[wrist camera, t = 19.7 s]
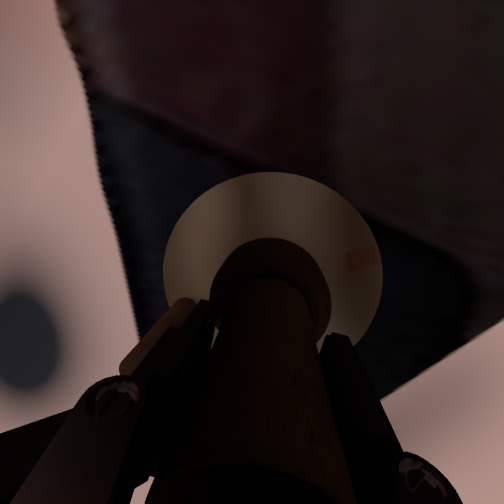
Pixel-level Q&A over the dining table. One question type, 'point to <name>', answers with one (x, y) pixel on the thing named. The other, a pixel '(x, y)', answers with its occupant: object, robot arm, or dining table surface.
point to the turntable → (270, 226)
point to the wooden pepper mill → (260, 392)
